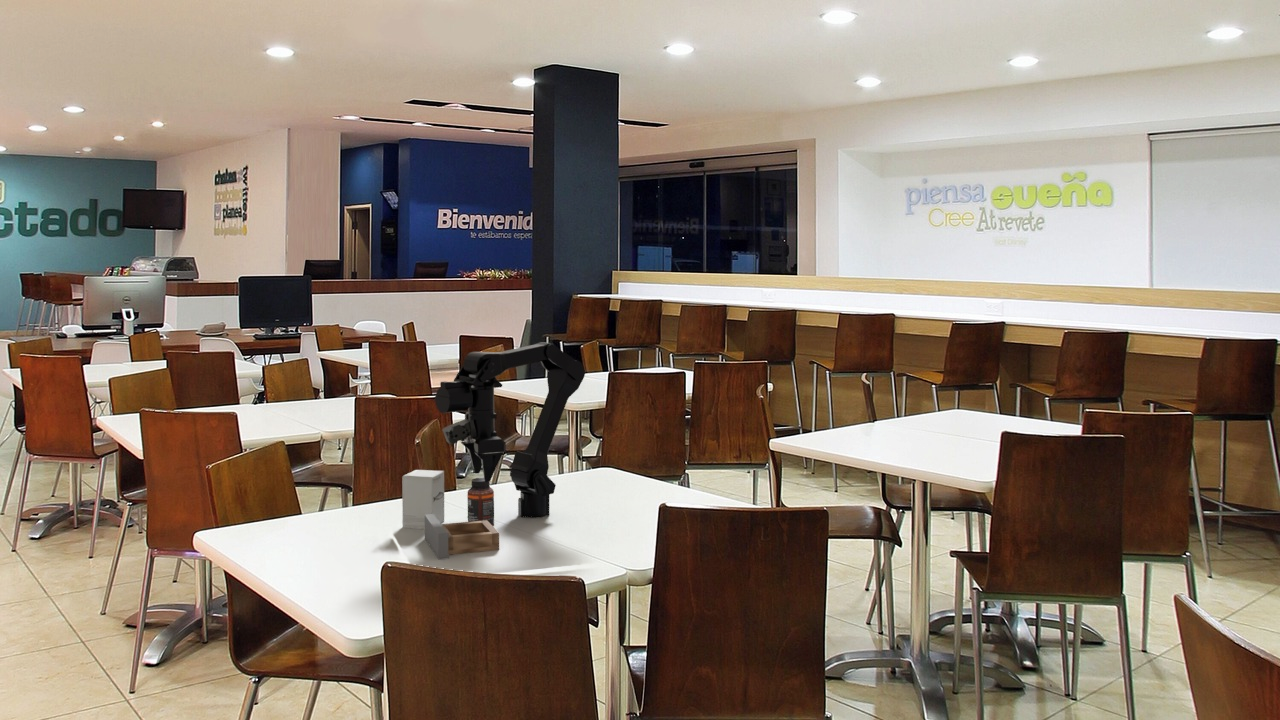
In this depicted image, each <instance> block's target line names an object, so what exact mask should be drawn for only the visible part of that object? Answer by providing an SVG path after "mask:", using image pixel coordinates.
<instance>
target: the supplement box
mask: <svg viewBox="0 0 1280 720" xmlns="http://www.w3.org/2000/svg"><path fill="white" fill-rule="evenodd" d="M401 478H402V483H401V484H402V485H401V486H402V492H401V493H402V495H401V496H402V500H401V501H402V528H403V529H404V528H405V529H418V530H419V529H420V530H422V529H423V530H425V515H428V514H434V515H435V516H436V517H437V519H438V520H439V521H440V523H441V524H444V522H445V470H431V469H428V470H427V469H414V470H413V471H411V472H408V473H407V474H404V475H403V476H402V477H401Z"/></svg>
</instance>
